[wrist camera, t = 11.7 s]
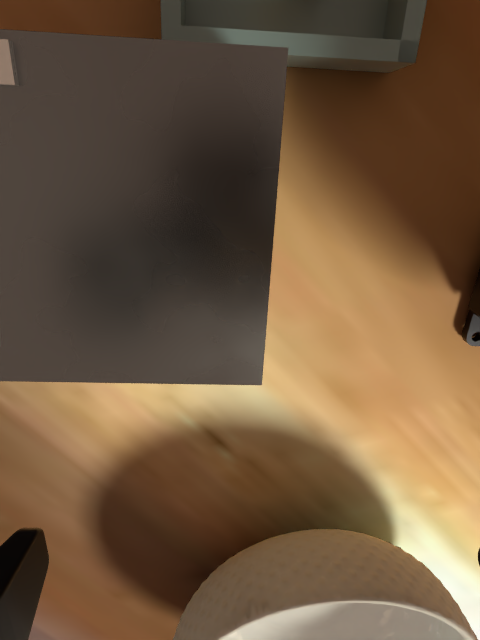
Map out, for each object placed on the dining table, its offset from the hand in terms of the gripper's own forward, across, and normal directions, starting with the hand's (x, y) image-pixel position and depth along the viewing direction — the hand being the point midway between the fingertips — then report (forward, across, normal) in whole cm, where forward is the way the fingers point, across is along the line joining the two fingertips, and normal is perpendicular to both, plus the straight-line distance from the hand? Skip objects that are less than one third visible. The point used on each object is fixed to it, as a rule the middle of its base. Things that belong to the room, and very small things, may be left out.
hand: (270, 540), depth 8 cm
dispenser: (+12, +8, -5) cm, 15 cm away
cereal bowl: (+12, -5, +19) cm, 23 cm away
